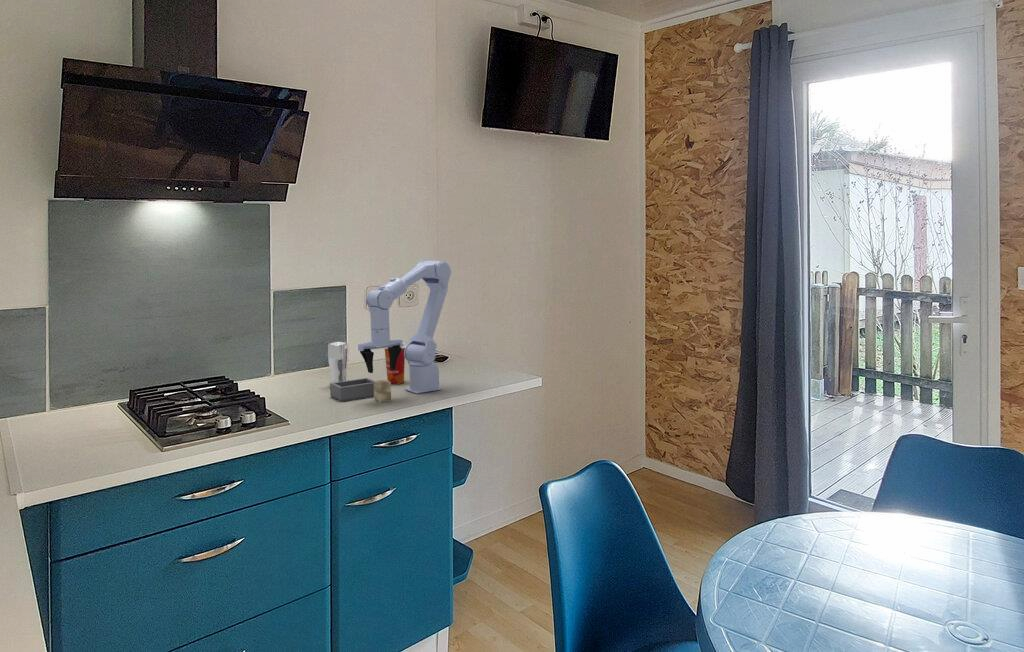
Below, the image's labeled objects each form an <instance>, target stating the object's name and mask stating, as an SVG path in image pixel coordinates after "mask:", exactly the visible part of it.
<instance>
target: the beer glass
mask: <svg viewBox="0 0 1024 652" xmlns="http://www.w3.org/2000/svg"><path fill="white" fill-rule="evenodd" d="M327 358H328V360H327V361H328V366H329V370H330V373H331V378H330V380H331V381H330V383H334V382H341V381H348V368H349V362H350V361H349V360H350V353H349V343H348V342H347V341H334V342H328V343H327Z"/></svg>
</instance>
